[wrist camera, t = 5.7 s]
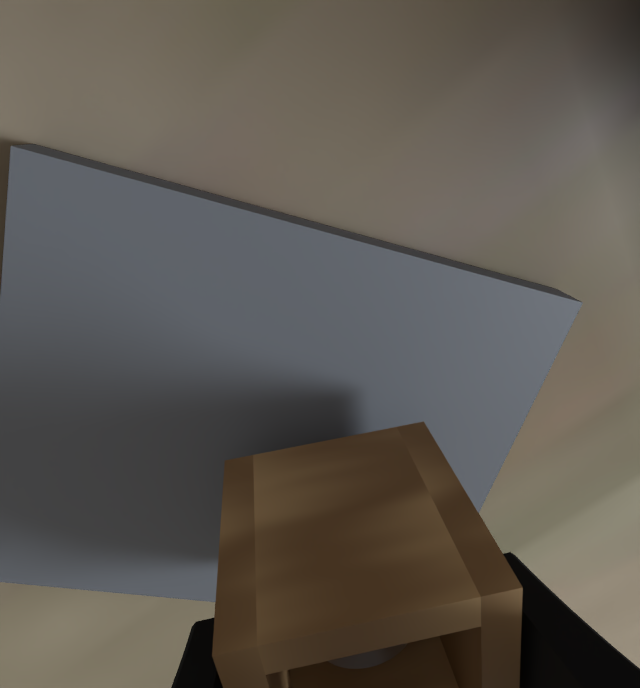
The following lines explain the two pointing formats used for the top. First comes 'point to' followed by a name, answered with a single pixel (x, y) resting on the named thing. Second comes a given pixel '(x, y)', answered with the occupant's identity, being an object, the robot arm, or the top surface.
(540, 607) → the robot arm
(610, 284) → the top surface
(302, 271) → the flat gray board
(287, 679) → the wooden cubby box
